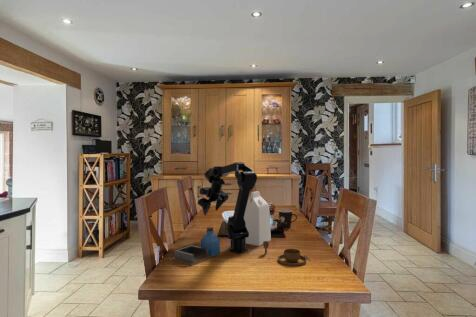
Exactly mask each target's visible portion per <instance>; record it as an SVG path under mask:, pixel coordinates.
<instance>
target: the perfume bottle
mask: <svg viewBox="0 0 476 317" xmlns="http://www.w3.org/2000/svg"><path fill="white" fill-rule="evenodd" d="M205 233H206V234H204V235H203V236H202V238H201V239H200V247H202V248H207V249H208V255H211V258H212V257H214V256H216V254H217V255H219V254H221V243H220V242H221V241H220V238H219V237H218V235H217V234H214V233H215V230H214V227H213V226H208V227H206V231H205ZM218 253H219V254H218Z"/></svg>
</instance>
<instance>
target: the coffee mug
mask: <svg viewBox="0 0 476 317" xmlns="http://www.w3.org/2000/svg"><path fill="white" fill-rule="evenodd" d="M293 216H295V219H294V220H292V218H293ZM278 219H279V227H280V226H282V227H283V228H282V227H281V228H282V229H290V228H291V227H292V223H294V222H296V221H297V219H298V216H297V214H295V213H293V210H291V209H279V210H278Z"/></svg>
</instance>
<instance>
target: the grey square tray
mask: <svg viewBox="0 0 476 317" xmlns="http://www.w3.org/2000/svg"><path fill="white" fill-rule="evenodd" d="M173 252H174V255H173V257H171V260H172V261H173V262H177V263H181V264H185V265H187V266H192V267H193V266H195V265H197V264H199V263H202V262H204V261H207V260H209V259H212V257H211V255H208V249H207V248H202V247H201V246H197V245H193V244H190V245H187V246H184V247H181V248H178V249H176V250H174V251H173Z"/></svg>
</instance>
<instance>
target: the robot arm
mask: <svg viewBox="0 0 476 317" xmlns="http://www.w3.org/2000/svg"><path fill="white" fill-rule="evenodd" d="M232 173H233V174H234V177H235V179H236V183H237V186H238V188H239V189H238V194H237V197H236V201H235V206H234V211H233V215H232V216H229V217H228V218H227V223H226V233H227V238H228V239H229V240H230V249H228V250H229V251H228V252H232V253H237V254H241V253H244V252H246V251H248V248H247V247H246V246H247V245H246V237H249V232H248V230H247V228H246V226H245V225H246V223H245V220H244V214H245V210H246V206H247V201H248V200H249V196H250V194H251V193H250V191H252V189H253V188H255V186H256V183H257V180H258V175H257V174H256V172H255V171H254V170H253V168H251V167H249V166H248V165H247V164H246V163H245V162H243V161H241V162H240V161H239V162H237V161H236V162H235V161H234V162H233V163H230V164H227V165H218V166H217V165H216V166H213V167H210V168H208V170H206V172H204V178H205V179H206V181H207V182H208V183H210V184H211V185H210V187H209V186H208V187H207V186H206V187H201V188H199V190H198V191H199V194H200V195H203V196H205V197H206V198H205V197H202V198H200V199H198V200H197V205H199V206H200V207H202V211H203V212H202V213H203V215H204V216H207V215H208V212H209V211H210V209H211V206H212V203H214V202H216V203H215V207H214V208H215V211H219V209H220V208H221V207H222V206H223V205H224V204H225V202H227V201H228V200H229V195H228V193H226V192H224V191H223V190H222V188H223V185H225V184H226V183H225V181H224V178H225V177H228V176H229V174H232ZM241 233H242V234H241Z"/></svg>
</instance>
